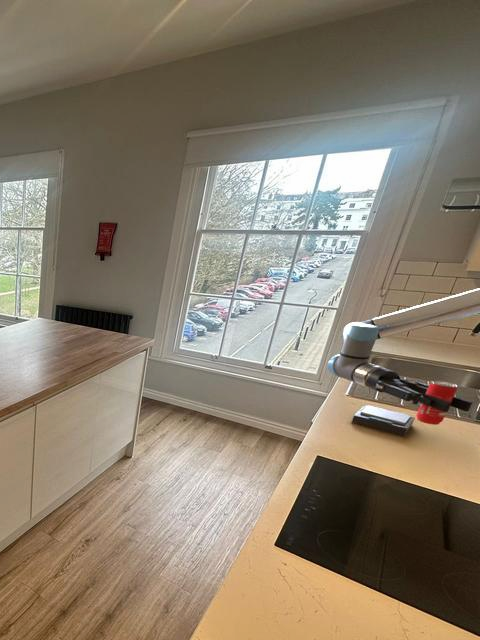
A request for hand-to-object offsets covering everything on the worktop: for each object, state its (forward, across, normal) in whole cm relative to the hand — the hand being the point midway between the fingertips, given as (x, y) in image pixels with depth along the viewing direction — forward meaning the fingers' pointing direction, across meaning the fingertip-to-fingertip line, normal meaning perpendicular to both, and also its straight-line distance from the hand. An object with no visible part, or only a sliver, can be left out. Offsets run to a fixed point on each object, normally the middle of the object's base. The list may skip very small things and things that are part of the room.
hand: (458, 407), depth 110 cm
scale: (-24, -9, -18) cm, 31 cm away
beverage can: (-5, 0, -7) cm, 9 cm away
